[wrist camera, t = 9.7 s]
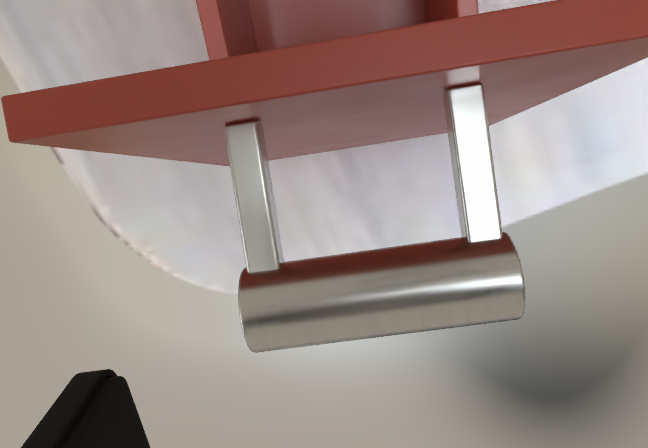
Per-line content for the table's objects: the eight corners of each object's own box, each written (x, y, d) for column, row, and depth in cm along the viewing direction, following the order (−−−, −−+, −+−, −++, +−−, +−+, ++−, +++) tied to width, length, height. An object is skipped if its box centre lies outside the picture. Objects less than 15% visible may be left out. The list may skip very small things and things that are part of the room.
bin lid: (-2, 95, 9) (58, 411, 10) (723, -30, 8) (756, 327, 9) (227, 149, 25) (246, 268, 25) (486, 108, 24) (502, 232, 24)
